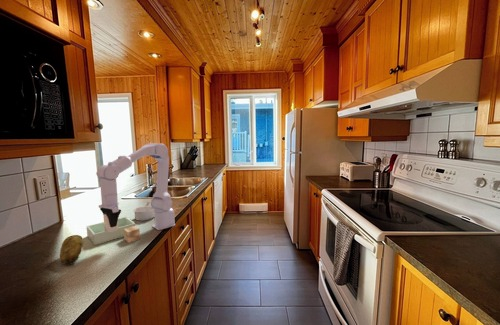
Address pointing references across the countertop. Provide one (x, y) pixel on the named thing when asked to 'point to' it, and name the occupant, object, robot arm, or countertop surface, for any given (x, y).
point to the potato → (71, 249)
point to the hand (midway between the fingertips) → (111, 224)
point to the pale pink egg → (107, 225)
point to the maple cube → (131, 234)
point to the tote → (100, 236)
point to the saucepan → (144, 212)
